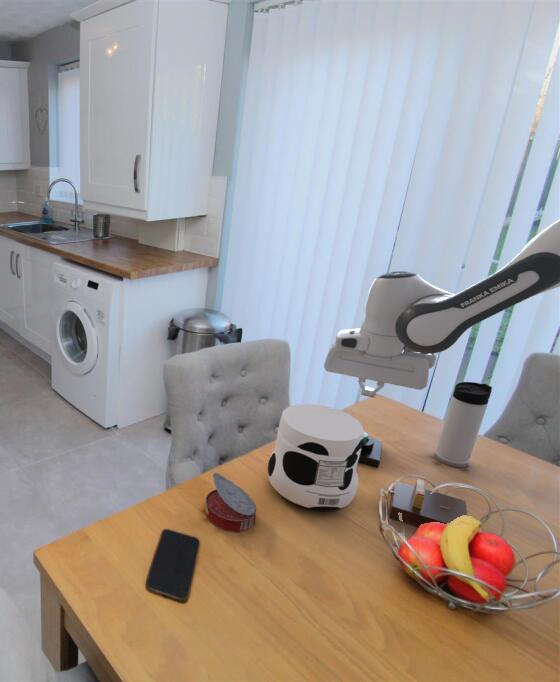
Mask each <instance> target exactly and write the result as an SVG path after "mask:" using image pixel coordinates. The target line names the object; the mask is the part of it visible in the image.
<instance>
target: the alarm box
mask: <svg viewBox="0 0 560 682" xmlns="http://www.w3.org/2000/svg"><path fill="white" fill-rule="evenodd" d="M382 448H383V440H381V439H376V438H373V437H372V436H371V435H369V434H368V439H367V442H366V443H363V444H362V447H361V453H360V456H359V460H358V464H360V465H365V466H369V467H371V468H376V469H379V466H380V462H381V457H382V455H381V454H382Z"/></svg>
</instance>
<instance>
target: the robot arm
mask: <svg viewBox="0 0 560 682" xmlns="http://www.w3.org/2000/svg"><path fill="white" fill-rule="evenodd" d="M559 287H560V219H558V220H556V221H555V222H554V223H552V224H551V225H548V227H546V228H545V229H543V230H542V231H541V232H539V233H538V234H537V235H536V236H534V237H533V238H532V239H530V241H529V242H527V244H526V245H525V246H524V247H523V248H522V249H521V251H520V252H519V253H517V254H516V255H515V257H513V258H512V259H511V260H510V261H509V262H508V263H507V264H506V265H504V266H503V267H502V268H501V269H499V270H498V271H496V272H494V273H492V274H491V275H489V276H487V277H486V278H484V279H482V280H480V281H478V282H477V283H476V282H475V283H474V284H472V285H470V286H469V287H467V288H465V289H464V290H462V291H459V292H458V293H454V292H449V291H447V290H444V289H442V288H440V287H437V286H434V285H432V284H431V283H429V282H428V281H426V280H425V279H424V278H422V277H421V276H420V275H419V274H418V273H416V272H413V271H404V270H402V271H401V270H399V271H391V272H385V273H383V274H381V275H379V276H377V277H376V278H374V280H373V282H372V284H371V285H370V288H369V291H368V294H367V298H366V302H365V306H364V314H365V315H364V318H363V321H362V322H361V325H360V328H350V329H342V330H340V331H339V332H338V333H337V334H336V336H335V341H334V342H333V343H332V345H331V346H330V348H329V350H328V353H327V355H326V358H325V361H324V364H323V368H324V369H325V371H326V372H328V373H333V374H337V375H344V376H348V377H354V378H358V380H357V381H358V385H359V387H360V388H361V390H360V391H361V392H360V395H361V396H364V397H368V398H374V399H375V398H376V396H377V393H378V392H379V391H380V390H382V389H383V388H384V387H385V384H388V385H393V386H399V387H404V388H410V389H414V390H418V391H422V390H424V389H425V388H427V387H428V382H429V376H430V369H432V368H433V367H434V366H435V364H436V361H437V356H436V354H438V353H443V352H445V351H446V350H448V349H449V348H451V347H452V346H453V345H454V344H456V342H457V341H458V340H459V339H460V337H461V336H462V335H463V334H464V333H465V332H467V330H468V329H470V328H472V327H473V326H475V325H477V324H479V323H481V322H483V321H485V320H486V319H489V318H490V317H493V316H495V315H497V314H499V313H501V312H503V311H505V310H507V309H509V308H511V307H513V306H515V305H517V304H519V303H521V302H524V301H526V300H528V299H530V298H532V297H534V296H537V295H540V294H542V293H543V294H544V293H546V292H548V291H551V290H554V289H557V288H559ZM366 380H367V381H368V380H369V381H373V382H376V386H375V387H370V386H367V385H366Z"/></svg>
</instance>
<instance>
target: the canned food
mask: <svg viewBox="0 0 560 682" xmlns="http://www.w3.org/2000/svg"><path fill="white" fill-rule="evenodd" d="M212 476H213V483H214V487H215V489H214V490H212V491H210V492H209V493H208V494H207V496H206V497H205V508H204V515H205V517H206V519H207V520H208V522H210V524H212V525H213V526H215V527H216V528H218V529H219V530H220V529H221V530H222V531H225V532H228V533H229V532H230V533H244V532H247V531H249V530H251V529H252V528H253V527H254V525H255V523H256V515H257V505H256V503H255V502H254V500H253V498H251V497H250V495H249V494H248V493H247V492H246V491H244V489H242V488H241V487H240V486H238V485H237V484H235V482H233V481H231V480H230V479H228V478H227V477H226V476H223V475H221V473H218V472H214V473H213V475H212Z"/></svg>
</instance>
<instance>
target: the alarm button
mask: <svg viewBox="0 0 560 682" xmlns="http://www.w3.org/2000/svg"><path fill="white" fill-rule="evenodd" d="M368 435H369V433H368V432H366V430H365V431H364V430H363V443H366V442H367V439H368Z"/></svg>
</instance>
